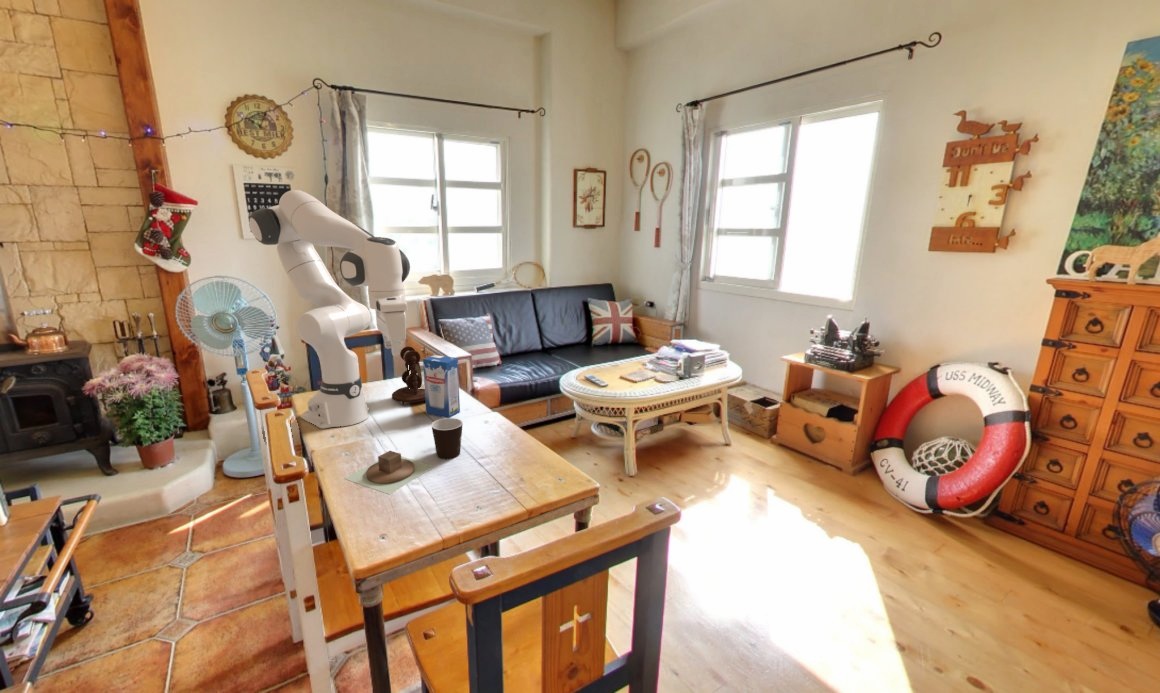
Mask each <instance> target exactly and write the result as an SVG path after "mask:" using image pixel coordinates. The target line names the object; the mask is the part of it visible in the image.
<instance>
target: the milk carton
mask: <svg viewBox="0 0 1160 693" xmlns="http://www.w3.org/2000/svg"><path fill="white" fill-rule="evenodd" d="M422 364H423V365H422V366H423V379H424V380H423V382H424V386H425V400H424V401H425V413H426V414H428V415H431V416H436V417H441V418H453V417H454V416H456V415H457V413H458V414H459V413H461V408H460V407H461V405H460V382H459V380H460V379H459V358H458V357H452V356H444V355H440V354H439V355H438V354H433V355H431V356H428V357H425V358H423V359H422Z"/></svg>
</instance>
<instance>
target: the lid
mask: <svg viewBox="0 0 1160 693" xmlns="http://www.w3.org/2000/svg"><path fill="white" fill-rule="evenodd" d="M401 456H402V454H401V453H399V452H395V451H392V450H389V451H386V452H384V453H382V454H380V455H378V456H377V461H378V462H377V461H376V462H377V463H375V462H374V463H375V464H373V463H372V464H373V465H372V466H370V467H369V468H368V469H367V471H366V477H367V479H368V480H369V481H370V482H373V483H377V484H390V483H395V482H399V481H402V480H404V479H406V478H408V477H410V476H411V475H412V474H413V472H414V463H413V462H411V461H410V460H407V459H401Z"/></svg>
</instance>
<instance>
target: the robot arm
mask: <svg viewBox="0 0 1160 693" xmlns="http://www.w3.org/2000/svg"><path fill="white" fill-rule="evenodd" d="M248 223H249V228H250V231H251V233H252V235H253V236H254V238H255V239H256V240H257V241H258V242H259V243H260V244H262V245H265V246H272V245H276V250H277V254H278V257H279V259H280V262H281V266H282V267H283V269H284V271H285V272H286V275H287V277H288V278H289V280H290V282H291V284H292V285H293V288H294V289H295V291H296V293H297V295H298V296H299V297H301V299H303V300H304V301H307V302H310V303H311V304H313V305H315V306H316V308H313V309H309V310H308V311H306V312H304V313H301V314H300V315H299V316H298V317H297V319H296V322H295V323H296V324H295V329H296V333H297V335H298V337H299V338H300V339H301V340H302V341H303V342H305V343H307V344H308V345H309V346H311V347H312V348H313V350H314V351H315V352H316V354H317V356H318V361H319V363H320V369H321V376H322V378H321V379H322V380H317V385H320V388H319V391H318V392H316V394H314V395H313V396H312V397H311V398H309V400H308V402H307V410H306V411H305V412H302V413H301V414H300V418H301V419H302V420H304V421H306V422H308V423H309V422H310V423H309V424H311V423H312V424H311V425H313V424H314V425H313V426H315V425H316V426H315V427H316V428H319V429H328V428H329V429H330V428H336V427H340V426H341V427H347V426H352V425H356V424H359V423H361V422H363V421H365V420H366V419H368V417H369V412H370V407H369V406H367V401H366V396H365V393H364V389H362V388H363V384H362V383H363V380H362V377H361V376H360V368H359V366H360V365H359V359H358V358H359V357H358V355H357V354H356V352H354V351H353V350H351V349H349V348H348V347H347V345H346V342H345V338H347V337H350V336H354V335H357V334H359V333H362V331H365V329H367V328H368V327H369V326H370V323H371V319H372V318H371V313H370V311H369V309H368V308H367V306H366V305H364V304H363V303H360V302H358V301H357V300H354V299H353V298H352V297H350V296H349V294H347V293H346V292H344V290H343V289H341V287H339V285H338V284H337V283H336V282H335V280H334V279H333V277H332V275H331V273H330V272H329V270H328V268H327V267H326V265H325V264H324V261H323V260H322V257H321V256H320V255H319V253H318V252H317V250H316V248H315V246H318V247H331V248H344V249H349V250H351V251H346V252H345V253H344V254H343V255H342V257H341V259H340V263H339V268H340V269H339V271H340V275H341V277H342V279H343V281H345V283H347V284H349V285H350V286H352V287H359V288H360V287H368V288H367V293H368V294H367V296H368V301H369V302H368V304H369V308H370V309H371V310H374V311H375V321H376V326H377V330H378V331H380V333H381V334H382V338H383V341H384V348H385V349H388V350H389V349H391V354H392V356H393V357H399V356H400V352H401V349H400V348H401V342H403V341H406V336H407V317H406V312H405V311H408V303H407V301H406V295H405V288H404V284H403V283H404V281H405V280H406V279H407V278H408V276H409V274H410V272H411V265H410V264H411V263H410V261H409V258H408V257H407V255H406V253H405V252H403V251H402V250H401V249H400V248H399V245H398V243H397V242H396V241H395V240H394V239H392V238H388V237H381V236H374V235H373V234H371V233H370V232H369V231H367V230H366V229H364V228H362V227H361V226H359V225H356V223H353V222H351V221H349V220H347V218H344V217H342V216H340V214H337V213H336V212H334V211H333V210H331V209H330V208H329V207H327V206H326V205H325V204H324V203H322V202H321V201H320V200H319V199H317V198H316V197H315V196H313V195H311V194H309V193H307V192H306V191H303V190H300V189H291V190H287V191H286V192H284V193H283V194H282V195H281V197H280V199H279V202H278V204H277V205H273V206H269V207H266V208H265V207H262V208H260V209H257V210H254V211H253V212H251V214H250V216H248ZM314 245H315V246H314Z"/></svg>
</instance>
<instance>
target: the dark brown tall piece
mask: <svg viewBox="0 0 1160 693" xmlns="http://www.w3.org/2000/svg"><path fill="white" fill-rule="evenodd" d="M399 356H400V358H401V360H403V361H404V362H405V363H404V367H405V369H406V370H405V371H404V372H403V373H402V375H401V380H402V382H403V383H404V384H406V386H404V387H401V388H398V389H396V390H394V391H393V392H392V394H391V399H392V400H393V401H395V402H397V403H398V402H399V403H401V406H405V404H406V403H407V404H409V403H418V402H423V401H425V389H418V388H420V387H421V386H423V376H422V369H421V365H420V361H421V354H420V353H419V352H418V350H415V348H414V347H412V346H405V347H403V348H402V349H400V355H399ZM408 365H409V370H408ZM410 370H411V374H410V375H409V371H410ZM409 388H410V389H409Z"/></svg>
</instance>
